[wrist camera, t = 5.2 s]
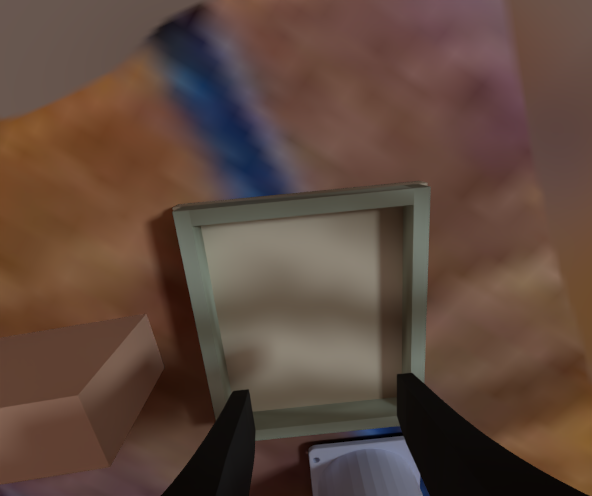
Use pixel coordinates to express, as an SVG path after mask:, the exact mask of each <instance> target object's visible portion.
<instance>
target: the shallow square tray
mask: <svg viewBox="0 0 592 496" xmlns="http://www.w3.org/2000/svg"><path fill="white" fill-rule="evenodd" d="M173 217H174V222H175V227H176V232H177V236H178V241H179V246H180V251H181V256H182V260H183V265H184V270H185V275H186V280H187V284H188V289H189V294H190V299H191V304H192V308H193V313H194V318H195V323H196V328H197V332H198V337H199V342H200V347H201V352H202V356H203V361H204V366H205V371H206V376H207V380H208V385H209V390H210V395H211V400H212V404H213V409H214V414H215V419H216V420H217V418H218V417H219V415H220V413H221V411H222V410H223V408H224V406H225V404H226V402H227V401H228V399H229V397H230V395H231V393H232V392H233V391H237V390H246V389H249V393H250V399H251V405H252V411H253V417H254V423H255V429H256V432H255V441H257V440H267V439H276V438H286V437H296V436H306V435H315V434H325V433H335V432H345V431H354V430H364V429H374V428H383V427H393V426H400V424H399V421H398V418H397V374H404V373H413V374H414V375H415V376H416V377H418V378H419V379H420V380H421V381H422V382H423V383H424V373H425V342H426V311H427V280H428V249H429V218H430V187H429V186H427V183H426V182H422V181H415V182H405V183H395V184H384V185H374V186H364V187H353V188H343V189H333V190H323V191H312V192H302V193H292V194H281V195H271V196H261V197H250V198H240V199H230V200H219V201H209V202H199V203H189V204H178V205H176V206H174V207H173Z"/></svg>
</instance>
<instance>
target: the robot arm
mask: <svg viewBox="0 0 592 496" xmlns="http://www.w3.org/2000/svg"><path fill="white" fill-rule="evenodd" d="M397 418H398V421H399V424H400V427H401V430H402V433H403V436H397V437H388V438H378V439H368V440H358V441H349V442H339V443H329V444H320V445H313V446H311V447H310V448H309V450H308V453H309V463H310V472H311V482H312V492H313V496H423V495H422V492H421V490H420V475H421V477H422V479H423V481H424V484H425V486H426V488H427V490H428V492H429V494H430V496H589V495H586V494H584V493H582V492H580V491H578V490H577V489H575V488H573V487H571V486H569V485H567V484H565V483H563V482H561V481H559V480H557V479H555V478H554V477H552V476H550V475H548V474H546V473H545V472H543V471H541V470H539V469H538V468H536V467H534V466H533V465H531V464H529V463H528V462H526V461H524V460H523V459H521V458H519V457H518V456H516V455H514V454H513V453H511V452H510V451H508V450H507V449H505V448H504V447H502V446H501V445H499V444H498V443H496V442H495V441H493V440H492V439H490V438H489V437H488V436H486V435H485V434H483V433H482V432H481V431H479V430H478V429H477V428H475V427H474V426H473V425H472V424H470V423H469V422H468V421H466V420H465V419H464V418H463V417H462V416H460V415H459V414H458V413H457V412H456V411H454V410H453V409H452V408H451V407H450V406H449V405H447V404H446V403H445V402H444V401H443V400H442V399H440V398H439V397H438V396H437V395H436V394H435V393H434V392H433V391H432V390H431V389H429V388H428V387H427V386H426V385H425V384H424V383H423V382H422V381H421V380H420V379H419V378H418V377H416V376H415V375H414V374H413V373H404V374H397ZM255 432H256V429H255V423H254V417H253V411H252V405H251V399H250V393H249V389H246V390H237V391H233V392H232V393H231V395H230V397H229V399H228V401H227V402H226V404H225V406H224V408H223V410H222V411H221V413H220V415H219V417H218V418H217V420H216V422H215V423H214V425H213V427H212V428H211V430H210V431H209V433H208V435H207V436H206V438H205V439H204V441H203V442H202V444H201V445H200V446H199V448H198V449H197V451H196V452H195V454H194V455H193V457H192V458H191V459H190V461H189V462H188V463H187V465H186V466H185V467H184V469H183V470H182V471H181V472H180V474H179V475H178V476H177V477H176V479H175V480H174V481H173V482H172V484H171V485H170V486H169V487H168V488H167V489H166V490H165V492H164V493H163V494H162V495H161V496H249V490H250V484H251V477H252V470H253V464H254V454H255ZM316 457H317V458H316Z"/></svg>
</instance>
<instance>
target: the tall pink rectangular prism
mask: <svg viewBox="0 0 592 496" xmlns="http://www.w3.org/2000/svg"><path fill="white" fill-rule="evenodd" d="M164 368H165V367H164V364H163V361H162V359H161V356H160V353H159V350H158V347H157V344H156V341H155V338H154V335H153V332H152V329H151V326H150V323H149V320H148V317H147V314H142V315H136V316H130V317H124V318H118V319H112V320H106V321H100V322H94V323H88V324H81V325H75V326H69V327H63V328H57V329H51V330H45V331H39V332H33V333H27V334H21V335H15V336H9V337H3V338H0V485H1V484H7V483H14V482H20V481H26V480H32V479H39V478H45V477H51V476H57V475H64V474H70V473H76V472H82V471H89V470H95V469H101V468H107V467H110V466H111V464H112V463H113V461H114V459H115V457H116V455H117V453H118V452H119V450H120V448H121V446H122V444H123V443H124V441H125V439H126V437H127V435H128V433H129V432H130V430H131V428H132V426H133V424H134V422H135V421H136V419H137V417H138V415H139V413H140V411H141V410H142V408H143V406H144V404H145V402H146V400H147V399H148V397H149V395H150V393H151V391H152V390H153V388H154V386H155V384H156V382H157V380H158V379H159V377H160V375H161V373H162V371H163V369H164Z"/></svg>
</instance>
